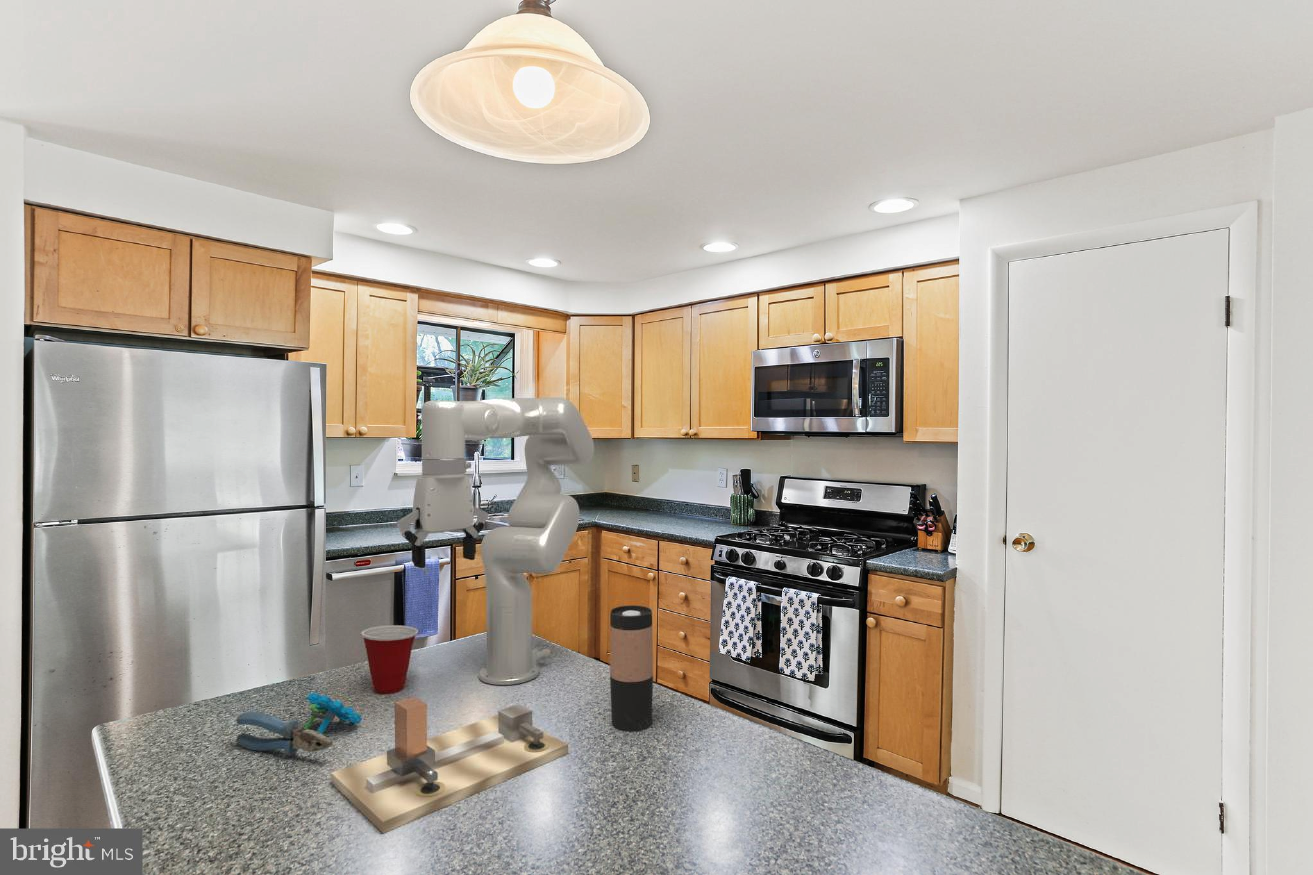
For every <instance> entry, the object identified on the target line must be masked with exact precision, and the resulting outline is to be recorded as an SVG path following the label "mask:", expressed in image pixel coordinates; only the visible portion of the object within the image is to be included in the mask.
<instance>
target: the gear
mask: <svg viewBox="0 0 1313 875" xmlns="http://www.w3.org/2000/svg"><path fill="white" fill-rule="evenodd" d="M306 699H307V700H308V701H307V702H308V703H310V704H311V705H310V706H309V708H308V709H309V710H312V711H311V712H310V714H309V716H311V717H310V718H309V719H308V721H307V723H306V724H305V726H304V727H303V730H307V729H308V730H310V727H311V725H313V723H314V721H315V720H316V719H320V720H323V721H322V722H321V724H320V726H318V728H317V730H316V731H317V732H319V733H321V734H322V735H323V734H324V732H325V730H326V728H327V727H328V725H329V724H330V722H332V721H334V719H335V717H337V718H338V719H339V720H340V721H344V722H346V721H347V722H349V723H351V724H353V725H354V724H355V723H356V724H359V725H360V723H361V721H363V718H362V715H361V714H360V713H357V712H354V711H355V709H353V708H352V707H350V706H346V707H345V706H343V702H342V701H339V700H337V699H335V700H333V699H331V698H330V696H328V695H325V694H323V695H321V694H319V693H317V692H314V693H311V692H309V693H308V695H307V696H306Z"/></svg>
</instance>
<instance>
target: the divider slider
mask: <svg viewBox="0 0 1313 875" xmlns="http://www.w3.org/2000/svg"><path fill="white" fill-rule="evenodd" d="M427 709H428V708H427V703H426V702H424V701H422V700H421V699H420V698H417V697H415V696H412V697H409V698H405V699H401V700H398V701H396V702H394V748H392V749H388V750H386V754H387V765H388V766H389V767H391V768H392V769H393V770H394V771H396V772H397V773H398V774H399V775H401V776H405V775H408V774H410V773H413V772H416V773H417V774H418V775H420V776H421V777H422V778H424V779H425V780H426V781H427V787H432V786H434V781H436V780H438V773H437V772H436V771H435V770H433V769H432V768H430V767H429V766H431V765H434V764H435V750H434V749H432V748H431V747H429V746H428V745H427V739H428V718H427V717H428V715H427V714H428V712H427Z"/></svg>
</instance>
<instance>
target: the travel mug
mask: <svg viewBox="0 0 1313 875" xmlns="http://www.w3.org/2000/svg"><path fill="white" fill-rule="evenodd" d="M609 622H610V625H609V628H610V630H609V634H610V635H609V638H610V639H609V640H610V641H609V675H610V676H609V680H610V681H609V682H610V683H609V685H610V707H611V708H610V710H611V713H610V714H611V724H612V726H613V727H614V728H615V729H617V730H619V731H623V732H639V731H642V730H646V729H648V728H649V727H650V726H651V725H652V722H653V721H652V720H653V694H654V692H653V691H654V688H653V687H654V664H653V663H654V655H653V654H654V652H653V650H654V648H653V644H654V642H653V610H652V609H651V608H650V607H648V606H643V605H635V604H634V605H632V604H631V605H629V604H628V605H620V606H616V607H614V608H612V609H610V620H609Z"/></svg>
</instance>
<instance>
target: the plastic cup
mask: <svg viewBox="0 0 1313 875" xmlns="http://www.w3.org/2000/svg"><path fill="white" fill-rule="evenodd" d="M360 633H361V636H362V638H363V642H364V646H365V649H366V656H367V662H368V669H369V673H370V674H369V676H370V677H371V683H372V687H373V690H374V693H376V694H382V695H388V694H389V695H390V694H395V693H397V692H401V691H403V689H405V685H406V681H407V675H408V671H409V666H410V661H411V655H412V648H413V645H414V642H415V638H416V636H417V635H418V633H419V629H418V628H415V627H413V626H408V625H397V624H396V625H393V624H392V625H391V624H390V625H380V626H374V627H372V626H371V627H369V628H367V629H364V630H363V631H360Z"/></svg>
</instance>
